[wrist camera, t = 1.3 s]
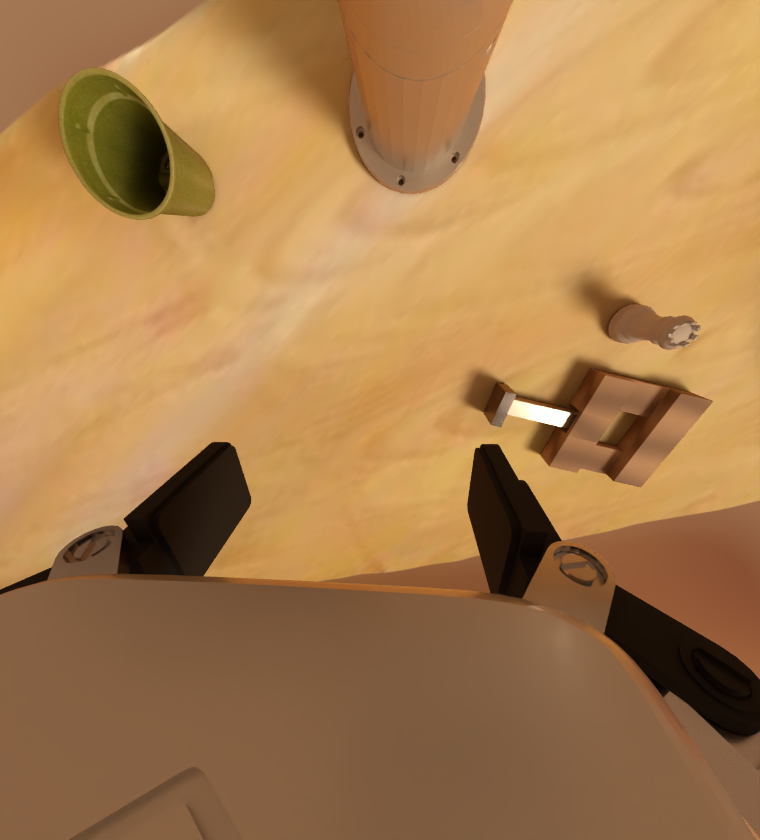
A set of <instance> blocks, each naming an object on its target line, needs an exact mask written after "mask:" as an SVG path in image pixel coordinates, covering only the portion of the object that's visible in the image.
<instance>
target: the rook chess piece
mask: <svg viewBox="0 0 760 840" xmlns="http://www.w3.org/2000/svg"><path fill="white" fill-rule="evenodd" d="M696 323H697V322H695V321H694V320H693V319H692V318H691V317H689V316H678V317H676V318H675V317H672V316H669V317H660V316H658V315H657V314H656V312H655V311H654V310H653V309H652V308H651V307H648V306H645V305H640V304H632V305H628V306H626V307H624V308H622V309H620V310H619V311H618V312H617V313H616V314H615V315H614V316H613V318H612V319H611V321H610V323H609V328H608V332H609V336H610V337H611V338H612V339H613V340H614V341H616V342H620V343H626V344H627V343H635V342H638V341H642V340H649V341H651V342H652V343H653V344H658V345H659V346H660V347H661V348H663V349H667V350H670V349H676V348H679V347H680V346H681V347H686V346H688V345H690V344H689V341H690V340H696V339H697V338H698V336H699V335H695V332H696V331H700V330H701V329H700V325H696Z"/></svg>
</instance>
